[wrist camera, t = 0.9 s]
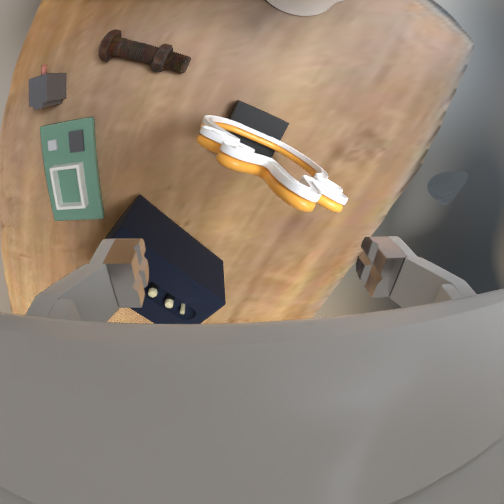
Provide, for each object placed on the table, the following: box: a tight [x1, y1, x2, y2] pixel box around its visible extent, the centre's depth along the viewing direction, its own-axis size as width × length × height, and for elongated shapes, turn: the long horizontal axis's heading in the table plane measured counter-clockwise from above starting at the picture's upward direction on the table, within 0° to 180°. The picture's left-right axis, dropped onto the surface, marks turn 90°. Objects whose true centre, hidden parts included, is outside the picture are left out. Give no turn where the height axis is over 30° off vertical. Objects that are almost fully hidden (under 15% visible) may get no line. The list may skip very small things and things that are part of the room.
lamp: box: [196, 100, 348, 212], centre depth 33 cm, size 17×9×32 cm, turn 65°
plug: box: [29, 65, 66, 110], centre depth 32 cm, size 8×4×7 cm, turn 176°
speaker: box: [105, 195, 225, 324], centre depth 50 cm, size 22×13×15 cm, turn 42°
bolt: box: [99, 30, 191, 73], centre depth 34 cm, size 6×5×15 cm
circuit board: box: [40, 117, 105, 221], centre depth 43 cm, size 20×12×3 cm, turn 176°
